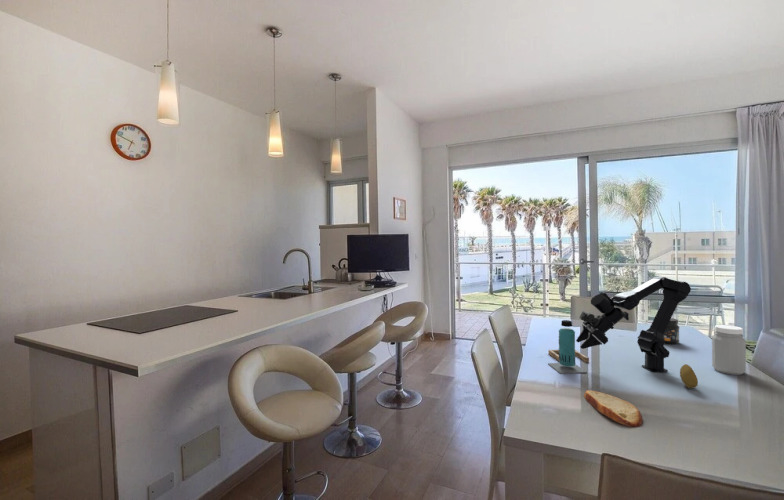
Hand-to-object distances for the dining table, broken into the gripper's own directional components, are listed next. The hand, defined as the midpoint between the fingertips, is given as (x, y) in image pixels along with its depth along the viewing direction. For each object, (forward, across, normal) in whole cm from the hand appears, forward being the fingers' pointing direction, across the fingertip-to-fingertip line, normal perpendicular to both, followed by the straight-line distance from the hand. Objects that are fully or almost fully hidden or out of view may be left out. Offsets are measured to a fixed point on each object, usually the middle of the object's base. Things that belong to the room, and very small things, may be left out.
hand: (579, 344), depth 147 cm
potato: (-16, +10, +32) cm, 37 cm away
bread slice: (+6, +36, +10) cm, 37 cm away
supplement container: (-27, -54, +43) cm, 74 cm away
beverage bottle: (+10, 0, +4) cm, 11 cm away
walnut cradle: (+9, -14, +6) cm, 18 cm away
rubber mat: (+11, 0, +4) cm, 12 cm away
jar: (-32, -13, +48) cm, 59 cm away
